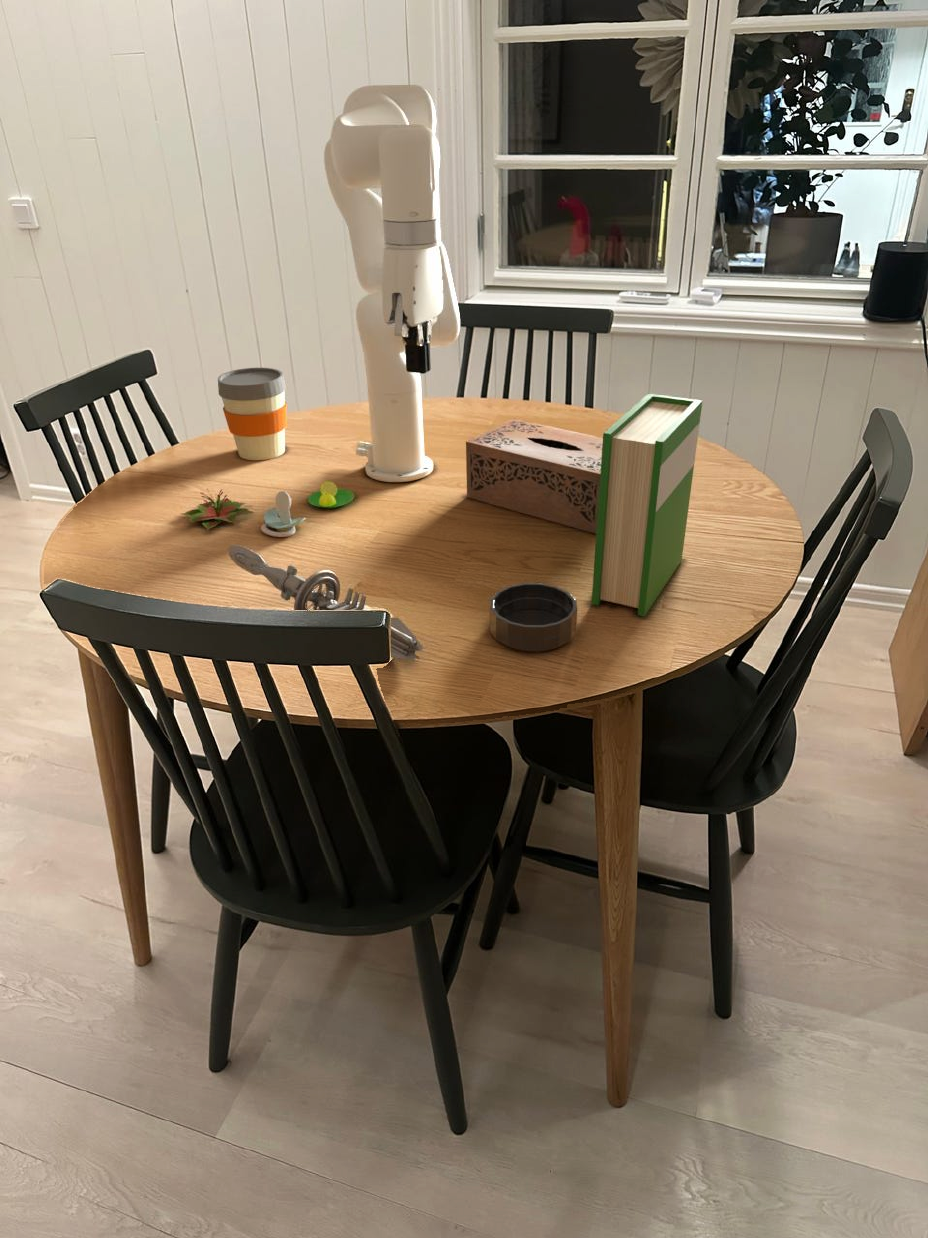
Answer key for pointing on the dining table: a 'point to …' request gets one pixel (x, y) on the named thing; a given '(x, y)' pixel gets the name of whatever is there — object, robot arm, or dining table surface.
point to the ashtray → (533, 617)
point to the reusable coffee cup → (255, 411)
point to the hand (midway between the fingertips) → (418, 371)
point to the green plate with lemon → (330, 496)
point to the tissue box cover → (537, 472)
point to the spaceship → (321, 596)
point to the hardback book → (644, 499)
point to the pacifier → (282, 523)
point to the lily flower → (216, 511)
